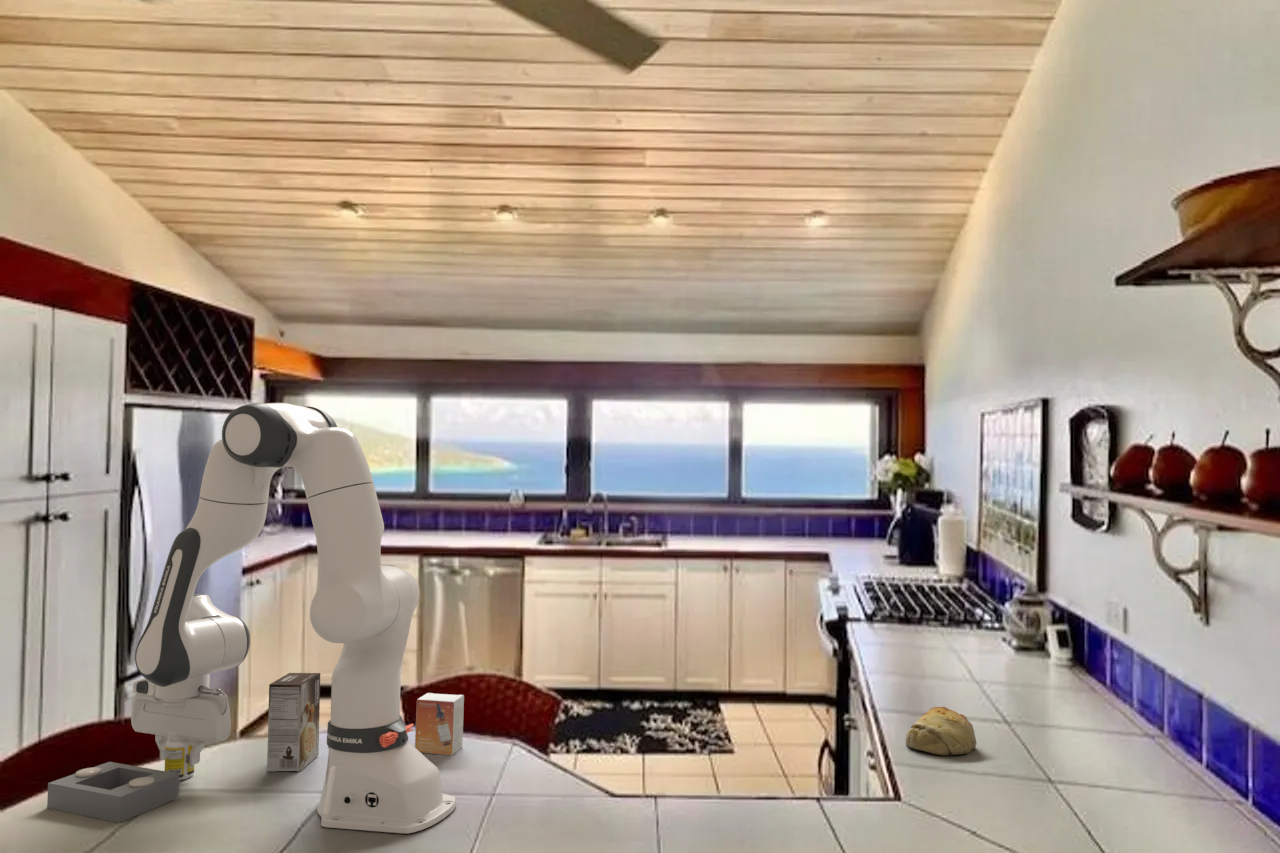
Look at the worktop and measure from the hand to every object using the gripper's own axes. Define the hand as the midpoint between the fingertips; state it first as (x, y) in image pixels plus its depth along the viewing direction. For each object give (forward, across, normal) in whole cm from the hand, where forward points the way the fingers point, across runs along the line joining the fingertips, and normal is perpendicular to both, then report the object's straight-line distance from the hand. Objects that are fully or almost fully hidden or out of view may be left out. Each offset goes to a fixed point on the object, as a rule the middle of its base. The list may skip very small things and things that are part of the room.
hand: (179, 761), depth 156 cm
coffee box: (+3, -14, -13) cm, 19 cm away
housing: (+3, 0, +13) cm, 13 cm away
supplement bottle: (+3, 0, 0) cm, 3 cm away
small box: (+3, -35, -30) cm, 46 cm away
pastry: (+3, -129, -70) cm, 147 cm away
